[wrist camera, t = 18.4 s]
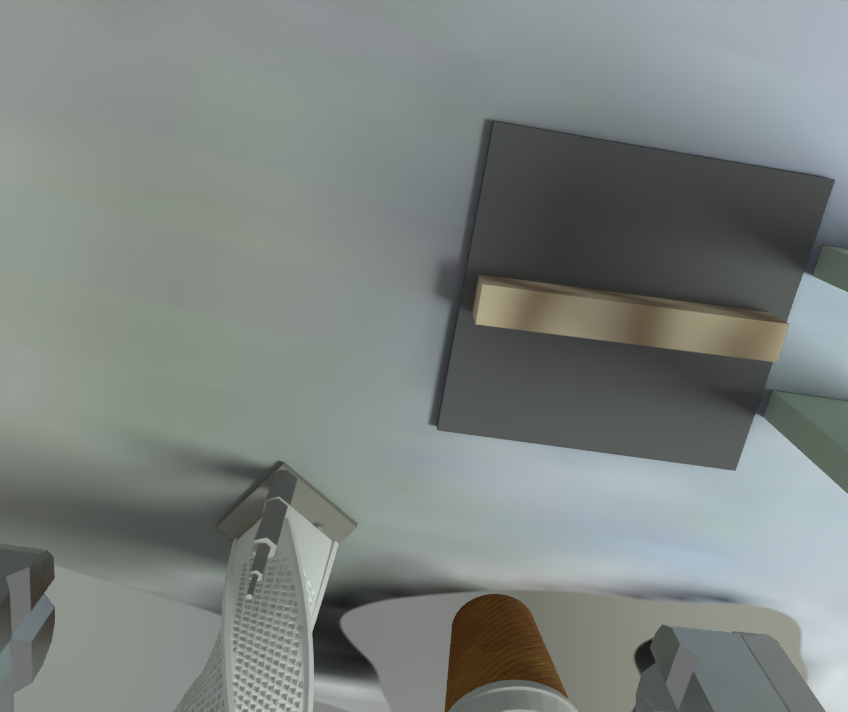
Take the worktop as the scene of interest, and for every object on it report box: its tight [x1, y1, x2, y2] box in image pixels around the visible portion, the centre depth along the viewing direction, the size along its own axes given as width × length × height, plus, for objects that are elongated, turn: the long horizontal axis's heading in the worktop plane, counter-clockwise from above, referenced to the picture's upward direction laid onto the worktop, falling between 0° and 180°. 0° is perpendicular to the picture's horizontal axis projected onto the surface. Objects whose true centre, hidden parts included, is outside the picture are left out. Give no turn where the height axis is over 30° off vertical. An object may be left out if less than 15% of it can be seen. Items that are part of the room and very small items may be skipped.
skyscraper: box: [173, 462, 357, 712], centre depth 39 cm, size 8×8×28 cm
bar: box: [472, 274, 789, 362], centre depth 46 cm, size 19×2×2 cm, turn 82°
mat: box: [437, 121, 835, 471], centre depth 47 cm, size 20×21×1 cm
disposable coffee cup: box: [445, 594, 579, 712], centre depth 50 cm, size 10×10×12 cm
